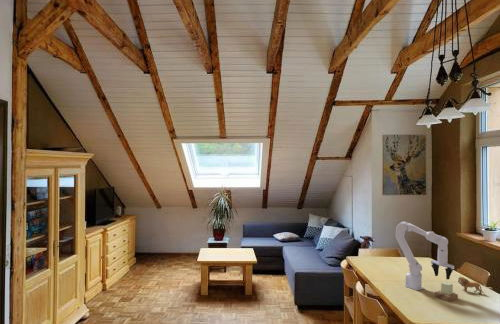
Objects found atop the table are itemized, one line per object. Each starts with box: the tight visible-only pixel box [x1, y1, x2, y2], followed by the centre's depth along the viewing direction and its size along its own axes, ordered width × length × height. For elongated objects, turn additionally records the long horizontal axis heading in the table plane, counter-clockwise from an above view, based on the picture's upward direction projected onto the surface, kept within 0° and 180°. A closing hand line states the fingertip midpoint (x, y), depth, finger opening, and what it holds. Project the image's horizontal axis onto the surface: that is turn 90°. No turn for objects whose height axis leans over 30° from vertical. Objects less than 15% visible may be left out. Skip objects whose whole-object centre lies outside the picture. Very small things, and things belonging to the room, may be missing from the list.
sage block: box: [440, 281, 454, 295], centre depth 229 cm, size 4×4×6 cm
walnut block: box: [434, 290, 459, 303], centre depth 229 cm, size 9×9×4 cm
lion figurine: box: [457, 276, 485, 295], centre depth 241 cm, size 15×5×9 cm, turn 68°
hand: (442, 277), depth 238 cm, fingers open, 7 cm apart
